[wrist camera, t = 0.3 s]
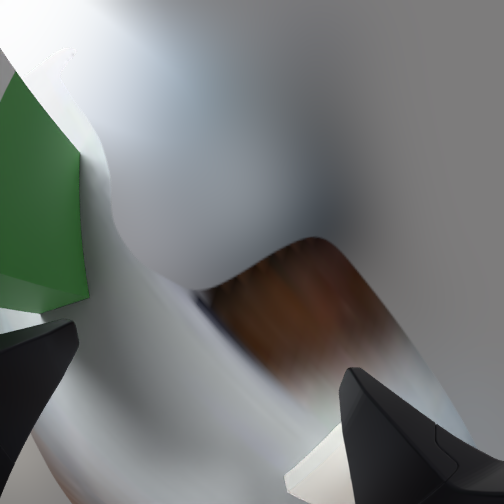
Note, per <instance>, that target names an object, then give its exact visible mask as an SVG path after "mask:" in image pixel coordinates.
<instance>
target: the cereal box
mask: <svg viewBox="0 0 504 504" xmlns="http://www.w3.org/2000/svg"><path fill="white" fill-rule="evenodd" d="M79 167H80V152H79V151H78V150H77V149H76V148H75V146H74V145H73V144H72V143H71V142H70V141H69V139H68V138H67V137H66V136H65V135H64V133H63V132H62V131H61V130H60V128H59V127H58V126H57V125H56V123H55V122H54V121H53V120H52V119H51V117H50V116H49V115H48V113H47V112H46V111H45V110H44V108H43V107H42V106H41V105H40V103H39V102H38V101H37V99H36V98H35V97H34V95H33V94H32V93H31V91H30V90H29V89H28V87H27V86H26V85H25V83H24V82H23V80H22V79H21V78H20V76H19V75H18V74H17V72H16V71H15V69H14V68H13V66H12V65H11V64H10V62H9V61H8V59H7V58H6V56H5V55H4V53H3V52H2V50H1V49H0V308H6V309H12V310H18V311H24V312H31V313H38V314H41V313H44V312H47V311H50V310H53V309H56V308H59V307H62V306H65V305H68V304H71V303H74V302H78V301H81V300H84V299H87V298H90V297H89V291H88V285H87V279H86V272H85V265H84V256H83V247H82V236H81V223H80V200H79Z"/></svg>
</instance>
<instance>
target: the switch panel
mask: <svg viewBox="0 0 504 504" xmlns="http://www.w3.org/2000/svg"><path fill="white" fill-rule="evenodd" d="M284 480H285V484H286V488H287V492H288V493H290V494H291V495H293V496H295V497H297V498H299V499H301V500H303V501H305V502H308V503H310V504H355V500H354V494H353V488H352V482H351V479H350V471H349V465H348V460H347V455H346V449H345V444H344V439H343V434H342V424H341V422H340V423H339V424H338V425H337V426H336V427H335V428H334V429H333V430H332V431H331V433H330V434H329V435H328V436H327V437H326V438H325V439H324V440H323V441H322V442H321V443H320V444H319V445H318V446H317V447H315V448H314V449H313V450H312V451H311V452H310V453H309V454H308V455H307V456H306V457H305V458H304V459H303V460H302V461H300V462H299V463H298V464H297V465H296V466H295V467H294V468H292V469H291V470H290V471H289V472H288V473H287V474H285V475H284Z"/></svg>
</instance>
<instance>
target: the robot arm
mask: <svg viewBox="0 0 504 504" xmlns="http://www.w3.org/2000/svg"><path fill="white" fill-rule="evenodd" d="M78 346H79V339H78V334H77V329H76V325H75V323H74V322H73V321H71V320H68V319H60V320H56V321H52V322H48V323H44V324H40V325H36V326H32V327H28V328H24V329H20V330H16V331H12V332H8V333H4V334H0V497H1V494H2V492H3V489H4V487H5V485H6V482H7V480H8V477H9V475H10V473H11V471H12V469H13V466H14V464H15V463H14V462H16V460H17V458H18V456H19V454H20V452H21V450H22V448H23V446H24V444H25V442H26V440H27V438H28V436H29V434H30V433H31V431H32V429H33V427H34V425H35V423H36V422H37V420H38V418H39V416H40V415H41V413H42V411H43V409H44V408H45V406H46V404H47V403H48V401H49V399H50V398H51V396H52V394H53V393H54V391H55V390H56V388H57V386H58V385H59V383H60V381H61V380H62V378H63V376H64V374H65V372H66V370H67V368H68V366H69V364H70V362H71V360H72V358H73V356H74V355H75V353H76V351H77V349H78ZM339 400H340V411H341V424H342V434H343V439H344V444H345V449H346V455H347V460H348V465H349V471H350V476H351V482H352V488H353V494H354V500H355V504H504V461H501V460H497V459H495V458H493V457H491V456H489V455H487V454H485V453H483V452H482V451H480V450H478V449H476V448H474V447H472V446H470V445H469V444H467V443H465V442H463V441H462V440H460V439H458V438H457V437H455V436H454V435H452V434H451V433H449V432H448V431H446V430H445V429H443V428H442V427H440V426H439V425H438V424H436V425H435V422H433V421H432V420H431V419H429V418H428V417H426V416H425V415H424V414H422V413H421V412H419V411H418V410H417V409H415V408H414V407H413V406H411V405H410V404H409V403H407V402H406V401H404V400H403V399H402V398H400V397H399V396H398V395H396V394H395V393H394V392H392V391H391V390H390V389H388V388H387V387H386V386H384V385H383V384H382V383H380V382H379V381H378V380H376V379H375V378H374V377H372V376H371V375H370V374H368V373H367V372H366V371H364V370H363V369H362V368H355V367H350V368H348V369H347V370H346V372H345V375H344V377H343V380H342V382H341V385H340V388H339Z"/></svg>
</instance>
